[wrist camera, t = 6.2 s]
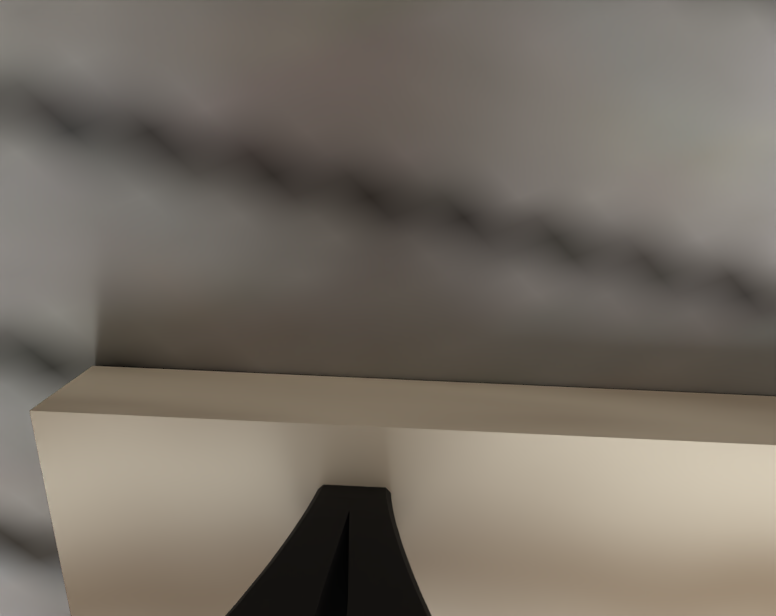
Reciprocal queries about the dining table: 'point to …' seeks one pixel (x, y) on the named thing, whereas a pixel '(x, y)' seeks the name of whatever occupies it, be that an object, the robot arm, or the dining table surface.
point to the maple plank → (413, 490)
